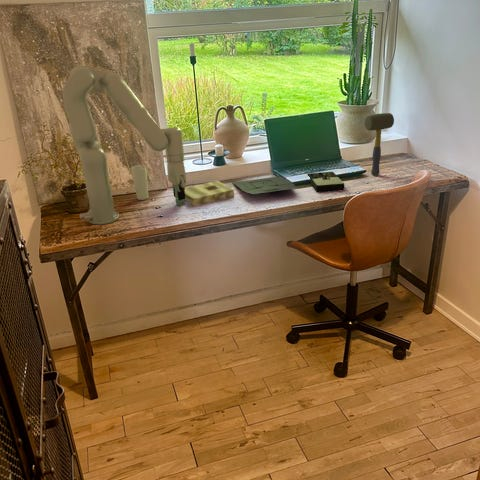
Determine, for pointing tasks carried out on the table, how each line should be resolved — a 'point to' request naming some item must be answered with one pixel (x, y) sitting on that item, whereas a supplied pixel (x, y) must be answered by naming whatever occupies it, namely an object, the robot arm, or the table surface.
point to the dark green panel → (264, 185)
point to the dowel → (178, 202)
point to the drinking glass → (140, 181)
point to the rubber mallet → (378, 135)
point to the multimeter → (325, 182)
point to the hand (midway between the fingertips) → (179, 197)
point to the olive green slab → (207, 193)
